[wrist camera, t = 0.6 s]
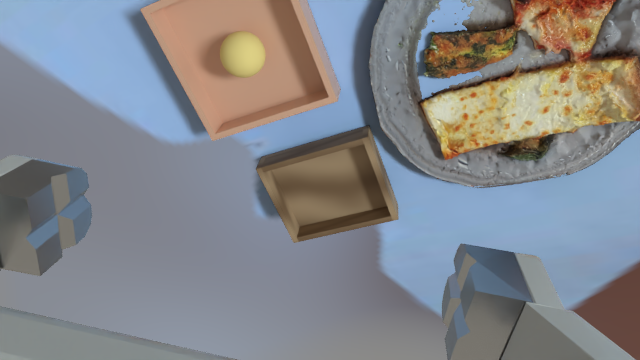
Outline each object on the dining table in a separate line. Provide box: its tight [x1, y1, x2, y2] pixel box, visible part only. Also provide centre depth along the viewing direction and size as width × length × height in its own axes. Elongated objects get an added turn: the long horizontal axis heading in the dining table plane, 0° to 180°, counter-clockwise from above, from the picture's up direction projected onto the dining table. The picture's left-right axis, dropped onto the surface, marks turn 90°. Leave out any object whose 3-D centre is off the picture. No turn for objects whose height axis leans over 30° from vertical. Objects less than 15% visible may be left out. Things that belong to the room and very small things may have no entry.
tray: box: [256, 125, 398, 243], centre depth 48 cm, size 10×12×3 cm
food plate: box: [369, 0, 640, 188], centre depth 39 cm, size 25×23×4 cm
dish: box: [140, 0, 341, 141], centre depth 41 cm, size 13×13×3 cm
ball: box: [220, 31, 266, 78], centre depth 40 cm, size 4×4×4 cm
